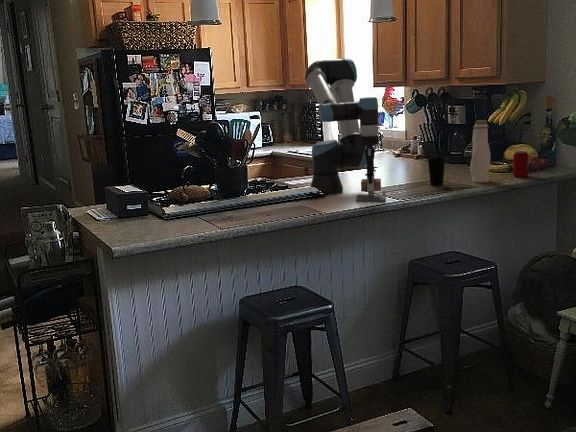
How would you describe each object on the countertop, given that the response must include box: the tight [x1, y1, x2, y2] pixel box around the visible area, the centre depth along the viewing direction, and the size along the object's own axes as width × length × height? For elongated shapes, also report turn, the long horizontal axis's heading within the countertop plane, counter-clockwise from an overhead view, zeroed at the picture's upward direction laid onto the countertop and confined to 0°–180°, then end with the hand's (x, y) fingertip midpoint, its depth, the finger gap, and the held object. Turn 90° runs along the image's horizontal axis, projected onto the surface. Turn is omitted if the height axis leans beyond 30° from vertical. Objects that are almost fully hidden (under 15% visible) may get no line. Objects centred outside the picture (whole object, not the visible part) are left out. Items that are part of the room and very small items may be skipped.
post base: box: [355, 190, 387, 203], centre depth 269 cm, size 12×12×6 cm
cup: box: [427, 157, 446, 187], centre depth 294 cm, size 8×8×12 cm
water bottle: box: [469, 119, 491, 183], centre depth 296 cm, size 10×9×28 cm
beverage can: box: [512, 150, 529, 178], centre depth 303 cm, size 7×7×12 cm
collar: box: [360, 178, 382, 193], centre depth 268 cm, size 8×8×4 cm
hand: (371, 189), depth 269 cm, fingers closed on collar, 8 cm apart
